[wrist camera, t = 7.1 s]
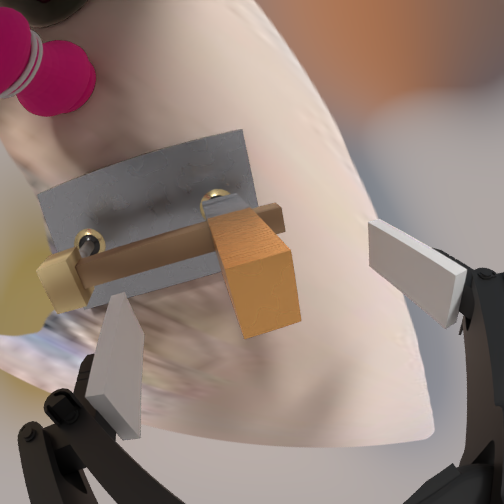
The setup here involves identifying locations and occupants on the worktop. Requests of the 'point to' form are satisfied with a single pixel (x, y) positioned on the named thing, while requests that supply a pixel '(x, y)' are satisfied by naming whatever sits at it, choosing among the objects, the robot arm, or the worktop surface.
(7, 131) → the worktop surface
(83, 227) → the bolt plate
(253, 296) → the block
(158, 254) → the wooden rod with block
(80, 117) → the worktop surface
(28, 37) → the pepper mill
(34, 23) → the beer bottle
